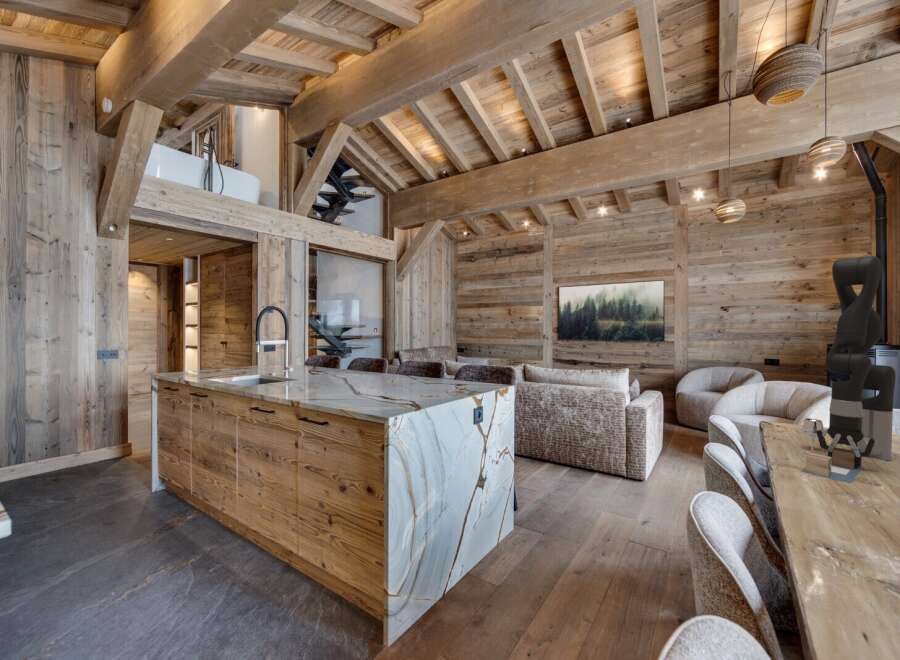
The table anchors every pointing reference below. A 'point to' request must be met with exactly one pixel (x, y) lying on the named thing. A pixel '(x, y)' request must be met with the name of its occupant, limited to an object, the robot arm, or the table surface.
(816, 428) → the wineglass
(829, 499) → the table surface
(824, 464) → the maple block
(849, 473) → the board
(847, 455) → the walnut block
